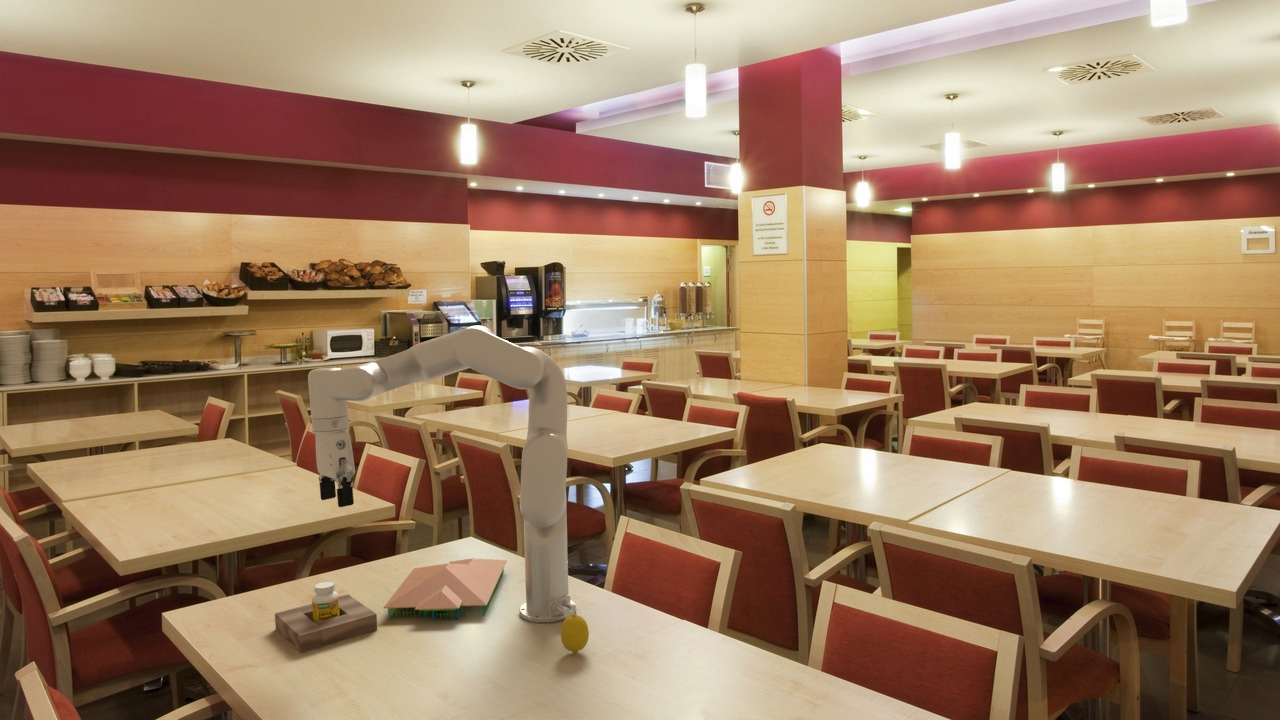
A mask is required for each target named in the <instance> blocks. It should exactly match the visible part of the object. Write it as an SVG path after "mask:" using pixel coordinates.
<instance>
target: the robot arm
mask: <svg viewBox="0 0 1280 720" xmlns="http://www.w3.org/2000/svg"><path fill="white" fill-rule="evenodd" d="M467 369H472V370H473V371H475V372H477V373H480V375H481V374H482V375H484V376H487V377H489V378H491V379H492V380H493V379H494V380H495V381H498V382H500V383H502V384H504V385H506V386H509V387H512V388H514V389H516V390H517V389H518V390H527V391H528V422H527V423H528V424H527V435H526V439H525V442H524V445H523V446H522V447H523V448H522V451H521V453H522V454H521V465H520V468H521V469H520V486H519V487H520V488H519V489H520V491H519V509H520V513H521V515H522V517H523V542H524V544H523V545H524V547H523V548H524V571H525V573H524V576H525V602H524V603H523V604H521V606H520V607H519V616H520V618H522V619H524V620H526V621H528V622H532V623H540V622H547V623H553V622H559V621H563V620H565V619H566V618H567V617H569V616H571V615H572V614H576V611H577V605H576V602H574V601H573V600H571V594H569V569H568V567H569V565H568V562H569V561H568V528H567V527H568V523H567V520H568V519H567V517H568V516H567V489H566V488H567V471H568V454H569V453H568V451H569V448H568V438H567V433H568V432H567V431H568V430H567V429H568V387H567V382H566V379H565V376H564V374H563V372H562V369H561V367H560V366H559V365H558V363H557V362H556V361H555V360H554V359H553V358H552V357H551V356H550V355H548V354H547V353H546V352H544V351H542V350H541V349H538V348H536V347H533V346H529V345H528V346H520V345H517V344H514V343H513V342H509V341H508V340H506V339H503V338H501V337H499V336H497V335H496V334H494V333H493V331H492V330H491V329H490V328H488V327H486V326H484V325H477V324H476V325H471V326H468V327H464V328H461V329H459V330H456V331H452V332H450V333H447V334H444V335H441V336H437V337H434V338H431V339H428V340H426V341H422V342H419V343H417V344H414V345H413V346H410V347H409V348H408V349H406V350H403V351H401V352H397V353H394V354H392V355H388V356H386V357H382V358H379V359H376V360H373V361H370V362H367V363H362V364H360V365H355V366H353V367H348V368H341V367H337V366H336V367H335V366H334V367H321V368H314V369H312V370H310V371H309V373H308V374H307V385H308V393H309V407H310V408H309V409H310V416H311V417H310V419H311V429H312V435H313V434H314V435H315V460H316V468H317V473H318V482H319V492H320V493H319V494H320V500H322V501H326V500H331V499H334V498H337V506H338V507H339V508H344V507H349V506H352V505H354V503H355V502H354V500H355V499H354V492H353V491H354V490H353V488H354V483H353V480H354V478H353V476H354V475H355V473H356V469H355V468H356V467H355V461H354V452H353V446H352V441H351V435H350V433H349V431H350V429H351V428H350V421H349V420H350V419H349V418H350V417H349V407H348V405H349V404H348V401H352V402H364V401H368V400H370V399H372V398H374V397H375V396H378V395H382V394H384V393H388V392H390V391H392V390H395V389H399V388H401V387H405V386H408V385H411V384H416V383H421V382H423V383H425V382H429V381H433V380H437V379H440V378H444V377H446V376H448V375H452V374H455V373H458V372H461V371H464V370H467ZM336 485H337V488H336Z"/></svg>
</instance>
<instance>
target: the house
mask: <svg viewBox="0 0 1280 720" xmlns="http://www.w3.org/2000/svg"><path fill="white" fill-rule="evenodd" d="M507 561H508V559H491V558H475V557H474V558H467V559H459V560H453V561H449V563H442V564H435V565H428V566H422V567H415V568H413V569H412V570H411V571H410V572H409V574H408V575H407V576H406V578H405V579H404V580H403V582H402V583H401V584H400V585H399V587H397V589H396V591H395V592H394V593H393V595H392V596H391V597H390V599H388V601H387V602H386V604H384V606H383V609H387V617H388V619H390V618H391V617H392V616H393V614H394V613H395V614H396V615H395V617H396V618H398V616H397V615H398V614H403V616H405V614H406V616H407V617H406V618H407V619H408V618H409V616H408V613H409V614H412V611H404V608H405V609H410V610H412V609H413V613H414V614H413V615H414V618H416V614H415V613H416V611H419V614H420V615H419V616H420V617H422V618H423V619H424V618H426V617H427V615H428V618H430V614H429V613H430V612H431V618H432V619H435V618H436V616H440V617H439V619H440V621H441V616H442V615H443V616H446V615H447V616H449V611H450V617H451V618H450V619H451V621H452V620H453V618H452V617H453V616H454V613H452V612H453V611H456V613H455V615H456V621H458V619H459V617H460V616H461V613H462V611H464V608H466V607H470V608H471V607H472V608H473V610H472V613H473V614H475V613H474V612H475V611H476V612H479V611H480V612H482V611H483V613H482V614H483V617H485V615H486V613H487V611H488V608H489V605H490V604H491V601H492V599H493V597H494V595H495V592H496V590H497V588H498V586H499V584H498V583H500V581H501V579H500V578H502V576H503V574H504V569H505V566H506V563H507ZM474 607H477V608H478V607H482V609H480V610H478V609H475V610H474ZM487 607H488V608H487ZM397 609H402V611H403V612H401V611H399V612H398V611H396V610H397ZM394 610H395V611H394ZM438 611H439V612H440V613H438ZM441 611H447V613H446V614H445V613H443V614H442V613H441ZM426 612H427V615H426ZM467 612H471V609H469V610H467V609H466V610H465V613H466V617H467V614H468V613H467ZM392 613H393V614H392ZM421 615H422V616H421ZM452 615H453V616H452ZM478 615H479V613H476V616H477V617H478Z"/></svg>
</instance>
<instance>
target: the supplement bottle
mask: <svg viewBox="0 0 1280 720" xmlns="http://www.w3.org/2000/svg"><path fill="white" fill-rule="evenodd" d="M311 604H312V608H313V622H314V623H317V622H320V621H324V620H327V619H331V618H335V617H338V616H340V613H339V594H338V592H336V591H335V582H332V581H324V582H319V583H317V584H314V595H313V596H312V598H311Z"/></svg>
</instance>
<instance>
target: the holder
mask: <svg viewBox="0 0 1280 720" xmlns="http://www.w3.org/2000/svg"><path fill="white" fill-rule="evenodd" d="M338 596H339V595H338ZM339 613H340V616H338V617H335V618H331V619H327V620H324V621H320V622H317V623H314V622H313V608H312V603H310V604H306V605H305V604H304V605H302V606H299V607H295V608H290V609H286V610H283V611H279V612H276V613H275V612H274V621H275V622H274V623H275V630H276V629H277V630H278V631H279V632H280V633H281V634H280V633H279V632H278V631H277V630H276V631H277V632H278V633H279V634H280V635H281V636H283V638H285V640H287V641H288V642H289V643H290V642H291V643H292V644H291V643H290V644H291V645H292V646H293V645H294V646H295V647H296V648H297V649H296V648H295V647H294V646H293V647H294V648H295V649H296V650H298V652H300V653H305V652H308V651H311V650H314V648H315V649H318V648H321V647H325V646H329V645H331V644H334V643H338V642H340V641H343V640H344V641H345V640H348V639H350V638H351V639H352V638H354V637H358V636H362V635H365V634H367V633H371V632H374V631H377V630H378V618H377V617H378V616H377V613H376V612H374V611H373V610H371V608H368V607H367V606H365V605H364V604H363V603H361V602H360V601H358V600H357V599H356V598H354V596H353V597H352V596H351V595H350V594H349V593H348V594H344V595H340V596H339ZM324 645H325V646H324ZM317 647H318V648H317ZM304 651H305V652H304Z"/></svg>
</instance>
